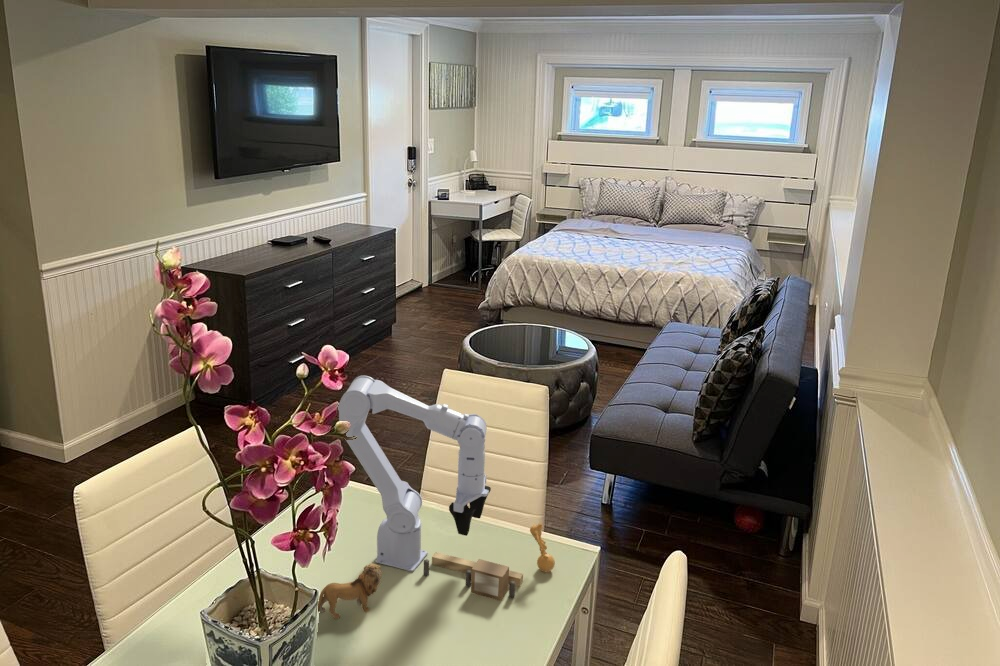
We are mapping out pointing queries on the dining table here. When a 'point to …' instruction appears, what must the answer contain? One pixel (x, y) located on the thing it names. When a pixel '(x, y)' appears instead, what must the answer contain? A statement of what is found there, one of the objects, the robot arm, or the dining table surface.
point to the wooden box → (489, 579)
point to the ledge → (468, 569)
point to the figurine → (542, 550)
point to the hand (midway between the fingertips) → (469, 525)
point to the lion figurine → (352, 590)
